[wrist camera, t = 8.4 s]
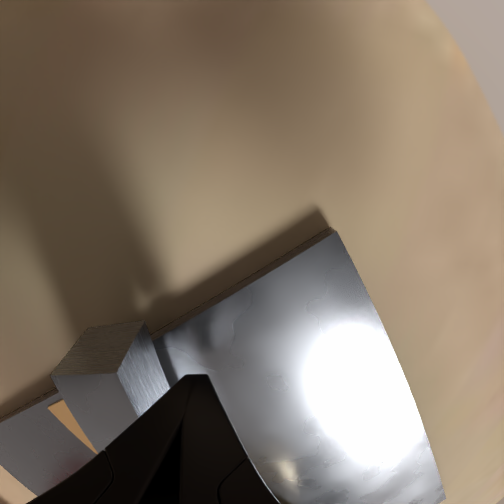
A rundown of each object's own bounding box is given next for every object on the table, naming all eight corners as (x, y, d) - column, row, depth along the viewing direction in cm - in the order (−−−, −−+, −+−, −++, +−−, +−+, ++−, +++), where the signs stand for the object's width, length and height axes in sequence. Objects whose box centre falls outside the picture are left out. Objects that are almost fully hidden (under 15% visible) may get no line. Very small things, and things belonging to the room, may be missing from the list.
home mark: (186, 487, 10) (186, 489, 10) (154, 495, 11) (154, 496, 10) (75, 392, 9) (74, 394, 9) (48, 406, 9) (47, 407, 9)
